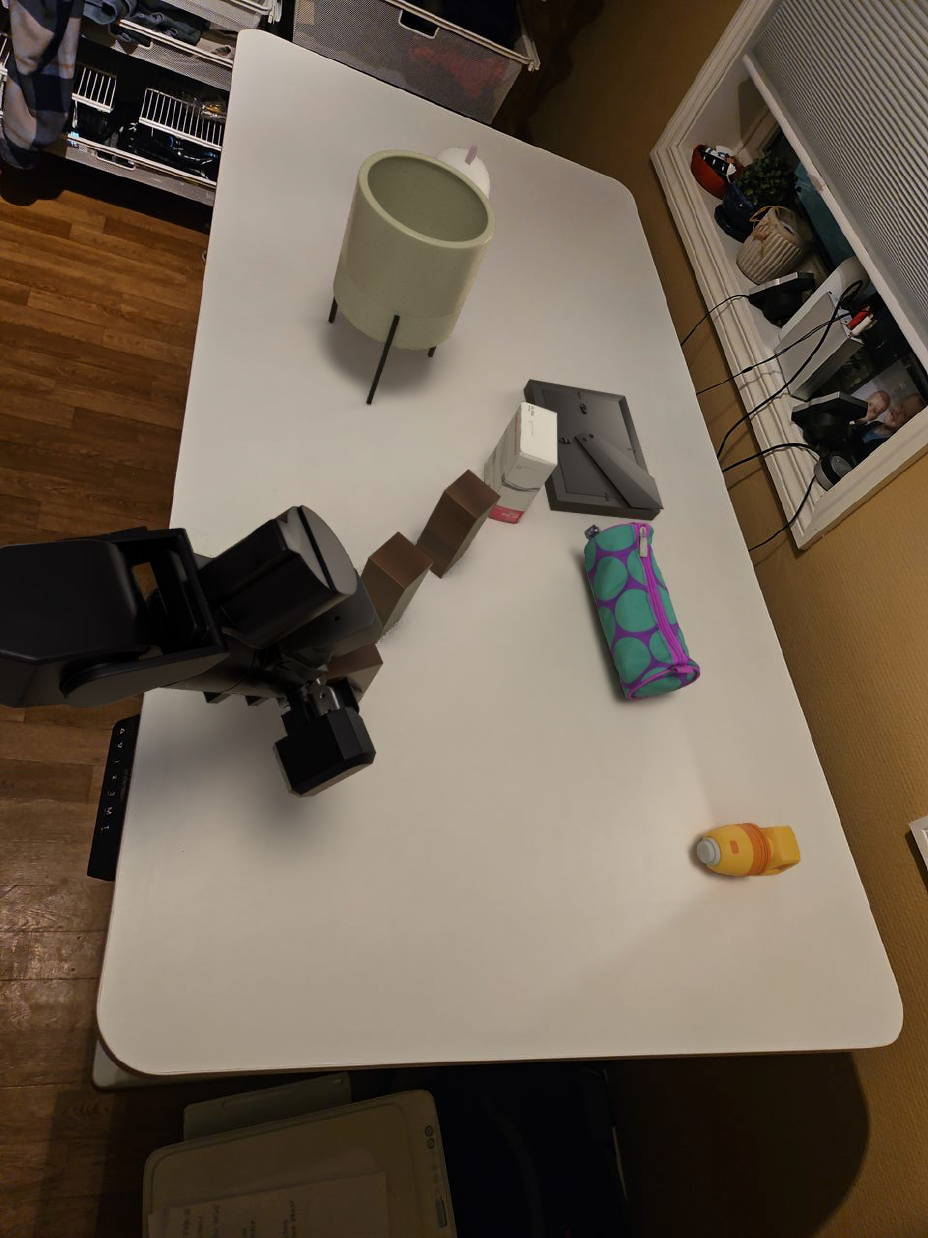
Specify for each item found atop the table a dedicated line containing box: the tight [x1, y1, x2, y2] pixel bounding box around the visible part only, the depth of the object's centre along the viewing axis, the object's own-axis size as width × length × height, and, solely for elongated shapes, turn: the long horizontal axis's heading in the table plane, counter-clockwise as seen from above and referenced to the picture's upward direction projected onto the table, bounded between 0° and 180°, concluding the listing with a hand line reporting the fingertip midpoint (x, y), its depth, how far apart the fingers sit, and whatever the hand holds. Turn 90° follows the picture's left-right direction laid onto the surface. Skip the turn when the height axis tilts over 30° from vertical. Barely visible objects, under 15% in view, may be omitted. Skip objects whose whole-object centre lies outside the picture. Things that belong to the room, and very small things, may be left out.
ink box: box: [483, 401, 557, 524], centre depth 87 cm, size 9×5×12 cm, turn 176°
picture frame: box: [523, 378, 665, 521], centre depth 99 cm, size 16×3×21 cm
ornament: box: [432, 144, 491, 199], centre depth 110 cm, size 10×10×12 cm
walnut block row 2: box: [414, 469, 501, 579], centre depth 79 cm, size 4×4×12 cm
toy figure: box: [696, 822, 801, 877], centre depth 77 cm, size 5×6×12 cm
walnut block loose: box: [319, 642, 384, 705], centre depth 58 cm, size 4×4×12 cm
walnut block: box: [360, 530, 434, 644], centre depth 72 cm, size 4×4×12 cm
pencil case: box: [583, 521, 701, 700], centre depth 84 cm, size 21×9×10 cm, turn 11°
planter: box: [327, 149, 497, 405], centre depth 85 cm, size 15×16×23 cm
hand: (347, 668), depth 58 cm, fingers closed on walnut block loose, 4 cm apart
